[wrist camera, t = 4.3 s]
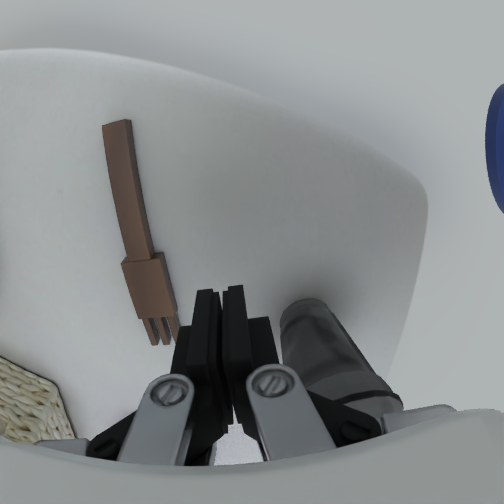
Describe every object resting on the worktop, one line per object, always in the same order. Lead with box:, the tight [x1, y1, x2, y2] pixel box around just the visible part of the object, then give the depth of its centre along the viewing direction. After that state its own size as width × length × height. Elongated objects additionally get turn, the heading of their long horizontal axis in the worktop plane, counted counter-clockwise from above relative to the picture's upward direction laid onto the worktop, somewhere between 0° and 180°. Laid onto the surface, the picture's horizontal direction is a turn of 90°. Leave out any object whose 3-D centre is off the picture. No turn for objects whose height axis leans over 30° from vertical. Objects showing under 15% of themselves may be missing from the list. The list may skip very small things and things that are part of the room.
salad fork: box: [102, 119, 180, 345], centre depth 20 cm, size 3×18×1 cm, turn 6°
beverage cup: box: [280, 299, 403, 418], centre depth 15 cm, size 7×7×20 cm
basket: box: [0, 358, 75, 445], centre depth 22 cm, size 24×16×15 cm
